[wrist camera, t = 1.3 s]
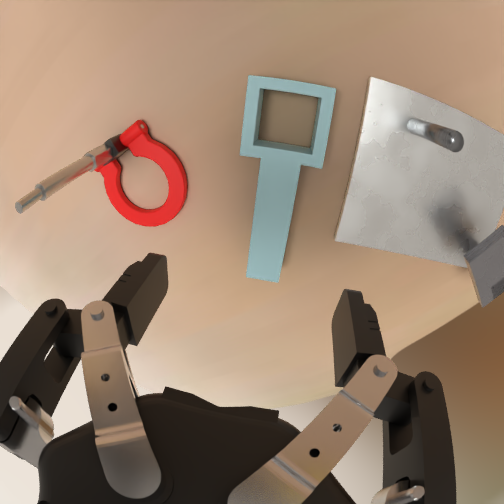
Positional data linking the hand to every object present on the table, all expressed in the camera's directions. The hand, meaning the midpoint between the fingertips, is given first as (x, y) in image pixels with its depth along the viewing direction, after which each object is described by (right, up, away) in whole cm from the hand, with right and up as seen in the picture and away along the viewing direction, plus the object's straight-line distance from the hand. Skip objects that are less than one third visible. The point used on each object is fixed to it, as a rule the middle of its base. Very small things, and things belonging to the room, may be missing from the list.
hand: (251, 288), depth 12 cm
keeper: (+23, +3, +11) cm, 26 cm away
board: (+17, +8, +9) cm, 21 cm away
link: (+2, +7, +12) cm, 14 cm away
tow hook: (-11, +9, +13) cm, 19 cm away
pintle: (+14, +12, +7) cm, 20 cm away
